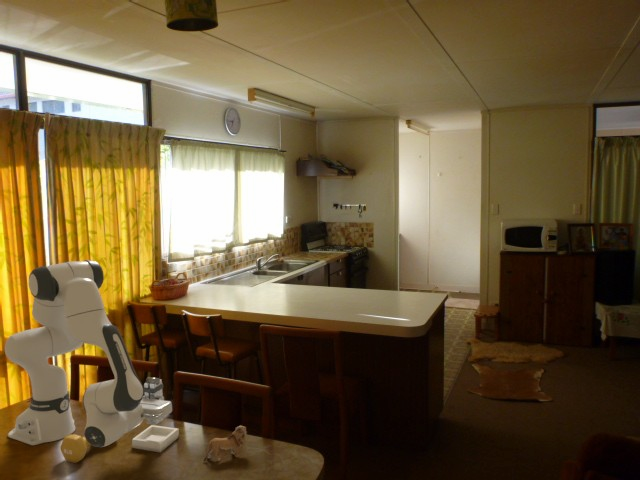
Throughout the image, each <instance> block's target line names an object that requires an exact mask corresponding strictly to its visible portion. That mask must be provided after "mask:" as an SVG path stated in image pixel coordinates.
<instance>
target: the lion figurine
mask: <svg viewBox="0 0 640 480" xmlns="http://www.w3.org/2000/svg"><path fill="white" fill-rule="evenodd" d="M247 435H248V431H247V427H246V426H243V425H239V426H237V427H235V430H234V431H233V432H232V433H231V434H230V435H229V436H228V437H224V438H222V437H215V438H213V439H211V440H210V441H209V442H208V445H207V447H206V455H205V457H204V459H203V460H202V461H203V462H206V461H207V459H211V458H212V455H210V454H211V453H212V452H213V454H214V455H213V457H214V459H215V460H216V461H217V462H221V459H222V458H220V457H218V454H219V451H220V449H221V450H225V451H226V450H230V449H231V454H232V455H234V456H235V458H240V454H238V452H239V447H241V446H243V445H244V443H245V440H246V438H247Z"/></svg>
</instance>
